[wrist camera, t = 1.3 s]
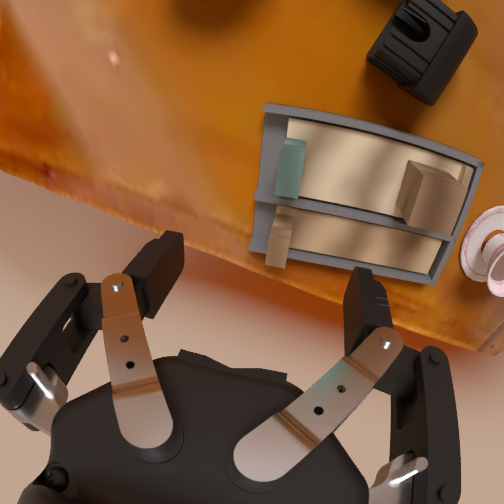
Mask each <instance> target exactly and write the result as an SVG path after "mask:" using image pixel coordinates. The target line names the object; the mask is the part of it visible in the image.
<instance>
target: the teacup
mask: <svg viewBox="0 0 504 504" xmlns="http://www.w3.org/2000/svg"><path fill="white" fill-rule="evenodd" d="M494 230H502V231H504V206H495V207H493V208H491V209H488V210H486V211H485V212H484V213H482V214H481V215H480V216H479V217H477V218H476V219H475V221H474V222H473V223H472V225H471V226H470V227H469V229H468V230H467V232H466V235H465V237H464V239H463V241H462V245H461V251H460V260H461V266H462V268H463V270H464V272H465V274H466V275H467V276H468V277H469V278H471V279H472V280H474V281H478V282H487V285H488V288H489V290H490V292H491V293H492V294H493V295H495V296H498V297H504V234H497V235H495V236H493V237H491V238H490V239H489V240H488V241H487V242H486V244H485V247H484V249H483V252H482V253H481V246H482V243H483V241H484V239H485V238H486V236H487V235H488V234H489V233H490V232H492V231H494Z"/></svg>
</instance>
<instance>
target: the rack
mask: <svg viewBox="0 0 504 504" xmlns="http://www.w3.org/2000/svg"><path fill="white" fill-rule="evenodd" d="M263 112H266V113H265V122H264V131H263V141H262V150H261V159H260V169H259V178H258V188H257V190H256V192H255V193H254V200H256V206H255V216H254V225H253V235H252V239H251V242H250V244H249V251H252V252H258V253H263V254H266V253H267V246H268V239H269V236H270V232H271V229H272V225H273V222H274V219H275V215H276V210H277V204H279V205H285V206H291V207H296V208H301V209H307V210H312V211H317V212H322V213H327V214H332V215H337V216H342V217H347V218H352V219H357V220H361V221H366V222H370V223H375V224H379V225H384V226H388V227H393V228H397V229H401V230H405V231H410V232H414V233H418V234H422V235H426V236H430V237H434V238H438V239H442V243H441V245H440V248H439V250H438V252H437V254H436V257H435V259H434V261H433V263H432V265H431V267H430V269H429V272H428V274H423V273H418V272H413V271H408V270H403V269H398V268H393V267H388V266H383V265H378V264H373V263H368V262H363V261H358V260H353V259H347V258H342V257H337V256H332V255H327V254H321V253H316V252H311V251H306V250H300V249H295V248H290V247H289V249H288V255H287V258H290V259H295V260H300V261H305V262H311V263H316V264H321V265H327V266H332V267H337V268H343V269H348V270H353V269H354V267H355V266H358V267H364V268H369V269H371V270H372V274H374V275H380V276H385V277H390V278H395V279H401V280H406V281H411V282H417V283H422V284H427V285H431V286H434V285H435V284H436V282H437V280H438V278H439V276H440V274H441V272H442V270H443V268H444V266H445V264H446V262H447V260H448V257H449V255H450V253H451V251H452V249H453V247H454V244H455V242H456V240H457V238H458V235H459V233H460V231H461V228H462V226H463V223H464V221H465V218H466V216H467V213H468V211H469V208H470V205H471V203H472V200H473V197H474V194H475V192H476V189H477V186H478V183H479V180H480V177H481V173H482V170H483V167H484V164H485V163H483V162H482V161H480V160H479V159H477V158H476V157H474V156H472V155H470V154H467V153H465V152H462V151H460V150H457V149H454V148H452V147H449V146H447V145H444V144H441V143H438V142H435V141H433V140H430V139H427V138H424V137H421V136H418V135H415V134H411V133H408V132H405V131H402V130H398V129H395V128H391V127H388V126H384V125H380V124H377V123H373V122H369V121H365V120H361V119H356V118H352V117H348V116H343V115H338V114H334V113H329V112H324V111H318V110H313V109H307V108H301V107H294V106H288V105H281V104H273V103H266V104H264V105H263ZM289 117H295V118H301V119H307V120H312V121H318V122H323V123H328V124H333V125H338V126H343V127H347V128H352V129H356V130H360V131H364V132H369V133H372V134H376V135H380V136H384V137H388V138H391V139H395V140H398V141H402V142H405V143H408V144H412V145H415V146H418V147H421V148H424V149H427V150H430V151H433V152H436V153H439V154H442V155H445V156H448V157H450V158H453V159H456V160H458V161H461V162H464V163H466V164H467V165H469V166H470V167H471V168H473V173H472V176H471V179H470V182H469V185H468V188H467V190H468V191H467V194H466V196H465V199H464V202H463V205H462V207H461V210H460V213H459V215H458V218H457V220H456V223H455V225H454V228H453V230H452V233H451V235H450V236H447V235H443V234H440V233H436V232H432V231H428V230H424V229H420V228H416V227H412V226H408V225H407V224H406V222H405V220H404V218H400V217H396V216H392V215H388V214H383V213H379V212H375V211H370V210H366V209H361V208H357V207H352V206H347V205H343V204H338V203H333V202H328V201H323V200H318V199H313V198H307V197H302V196H298V199H295V198H290V197H284V196H279V195H275V188H276V180H277V173H278V165H279V158H280V150H281V148H282V146H283V144H284V142H285V140H286V138H287V130H288V123H289Z"/></svg>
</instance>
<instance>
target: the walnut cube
mask: <svg viewBox="0 0 504 504" xmlns="http://www.w3.org/2000/svg"><path fill="white" fill-rule="evenodd" d="M467 191H468V190H467V189H466V188H465V187H464V186H463V185H462V184H461V183H460V182H459V181H457V180H456V179H455V178H454V177H453V176H452V175H451V174H450V173H448V172H446V171H443V170H440V169H437V168H434V167H431V166H428V165H425V164H421V163H418V162H415V161H412V160H408V162H407V166H406V169H405V173H404V177H403V180H402V184H401V187H400V191H399V194H398V197H397V200H396V205H397V207H398V208H399V210H400V212H401V214H402V216H403V218H404V220H405V222H406V224H407V225H408V226H412V227H416V228H420V229H424V230H428V231H432V232H436V233H440V234H443V235H447V236H450V235H451V233H452V230H453V228H454V225H455V223H456V220H457V218H458V215H459V213H460V210H461V207H462V205H463V202H464V199H465V196H466V194H467Z"/></svg>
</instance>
